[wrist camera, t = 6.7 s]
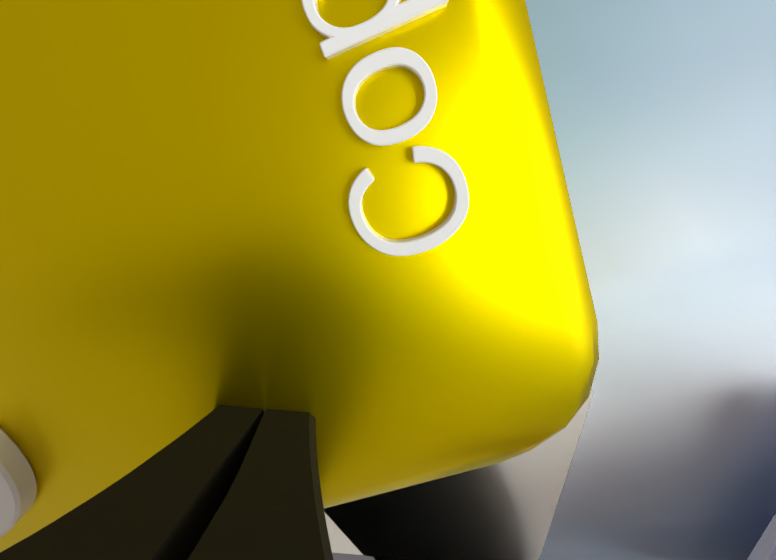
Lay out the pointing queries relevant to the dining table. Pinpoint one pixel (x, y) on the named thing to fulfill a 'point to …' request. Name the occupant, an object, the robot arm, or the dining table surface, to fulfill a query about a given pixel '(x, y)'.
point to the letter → (462, 510)
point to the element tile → (280, 239)
